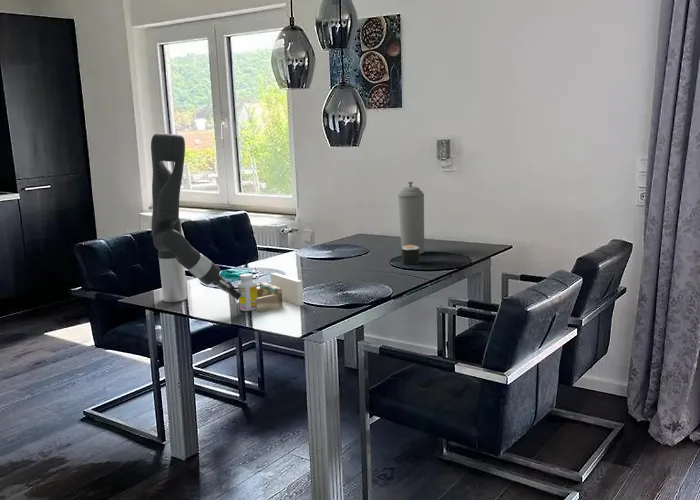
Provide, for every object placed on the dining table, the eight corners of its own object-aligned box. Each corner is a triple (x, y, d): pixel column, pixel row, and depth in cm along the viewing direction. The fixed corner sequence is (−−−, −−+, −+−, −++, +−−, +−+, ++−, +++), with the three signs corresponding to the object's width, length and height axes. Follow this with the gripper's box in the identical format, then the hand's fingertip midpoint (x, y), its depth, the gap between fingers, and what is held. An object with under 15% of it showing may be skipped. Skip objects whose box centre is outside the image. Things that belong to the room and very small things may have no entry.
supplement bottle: (258, 306, 250) (256, 272, 248) (257, 310, 244) (255, 276, 241) (240, 307, 250) (237, 273, 247) (239, 312, 243) (236, 277, 241)
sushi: (403, 265, 306) (402, 248, 304) (401, 261, 314) (400, 244, 312) (420, 264, 306) (420, 246, 304) (418, 260, 314) (417, 243, 313)
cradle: (240, 305, 253) (239, 286, 252) (264, 299, 258) (263, 282, 257) (258, 312, 242) (256, 293, 240) (282, 306, 247) (281, 288, 246)
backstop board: (272, 295, 264) (270, 273, 262) (276, 294, 265) (275, 272, 263) (298, 305, 248) (297, 281, 246) (303, 304, 249) (301, 280, 247)
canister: (431, 252, 331) (429, 180, 324) (413, 256, 322) (411, 183, 316) (412, 249, 340) (409, 179, 333) (394, 254, 332) (391, 182, 325)
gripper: (217, 262, 230) (252, 291, 239) (202, 257, 241) (236, 285, 250) (204, 280, 228) (240, 308, 237) (189, 274, 239) (224, 302, 248)
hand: (238, 296), depth 244 cm, fingers closed
